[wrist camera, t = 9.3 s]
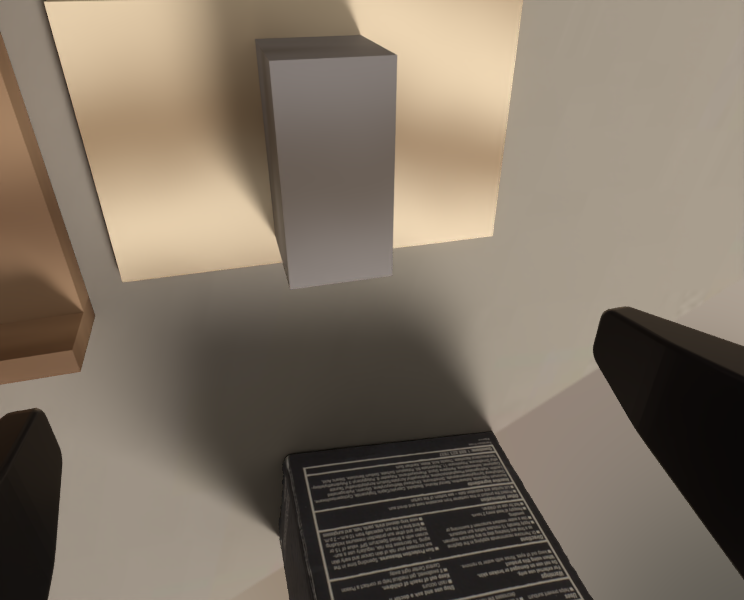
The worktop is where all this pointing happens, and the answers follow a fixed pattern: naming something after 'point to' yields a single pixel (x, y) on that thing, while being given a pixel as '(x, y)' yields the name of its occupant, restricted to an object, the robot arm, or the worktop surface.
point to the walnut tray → (34, 256)
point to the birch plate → (211, 120)
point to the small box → (417, 526)
